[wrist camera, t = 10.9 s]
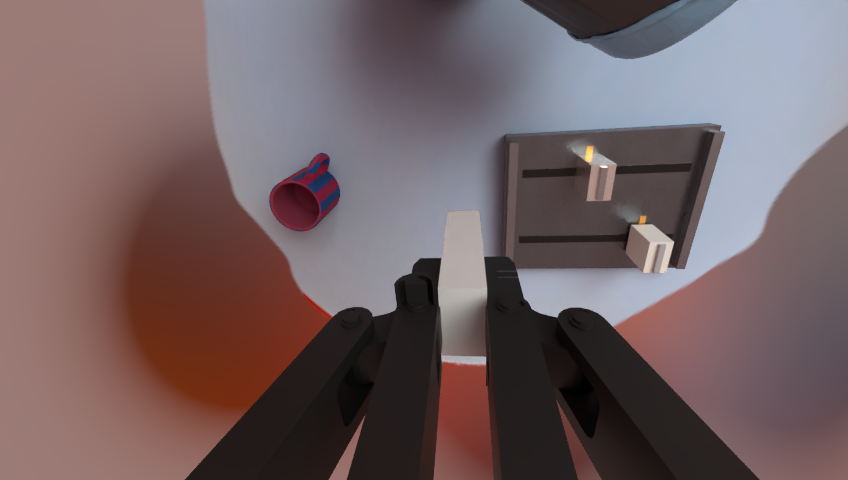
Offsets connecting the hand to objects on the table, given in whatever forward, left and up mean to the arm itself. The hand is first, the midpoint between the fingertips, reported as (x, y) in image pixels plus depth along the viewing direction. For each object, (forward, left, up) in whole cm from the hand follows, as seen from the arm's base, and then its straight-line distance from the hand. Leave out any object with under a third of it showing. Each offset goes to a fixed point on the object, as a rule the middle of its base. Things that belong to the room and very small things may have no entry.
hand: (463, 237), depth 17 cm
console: (+9, +16, -29) cm, 35 cm away
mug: (+5, -20, -30) cm, 36 cm away
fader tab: (+14, +22, -27) cm, 37 cm away
